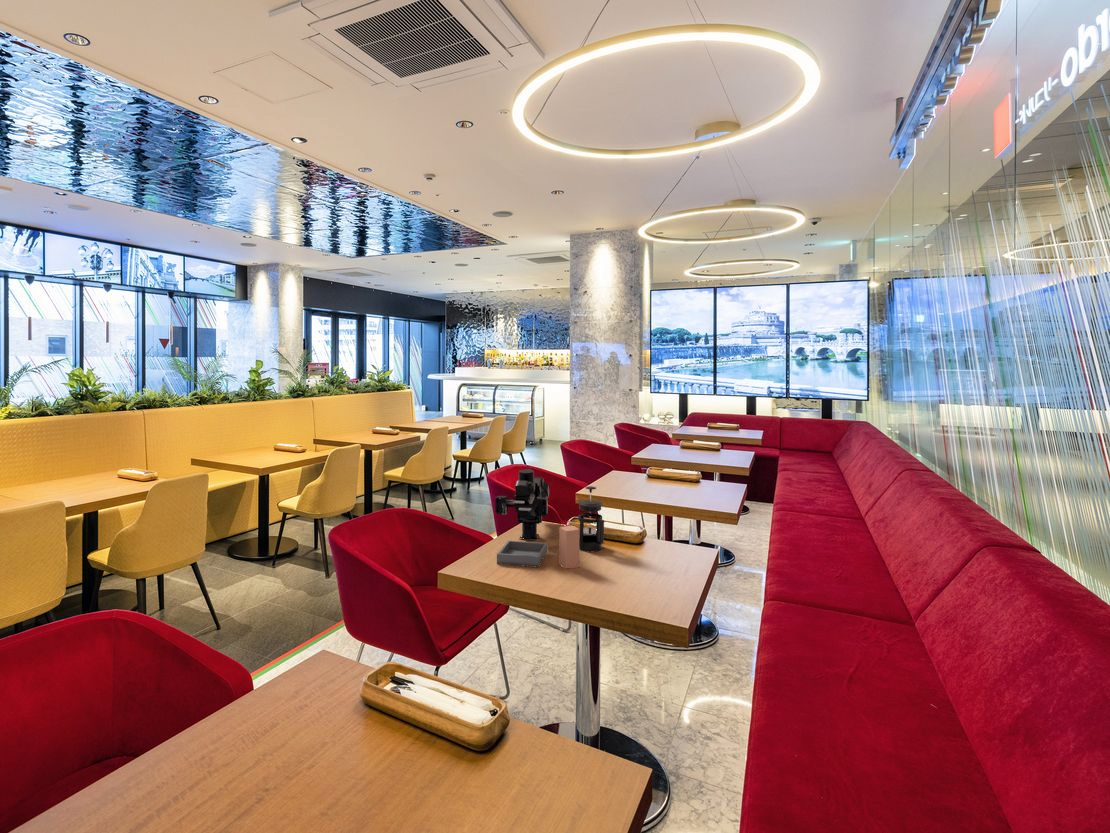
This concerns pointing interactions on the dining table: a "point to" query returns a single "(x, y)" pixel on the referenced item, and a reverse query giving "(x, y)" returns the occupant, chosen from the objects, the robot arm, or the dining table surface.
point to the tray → (522, 553)
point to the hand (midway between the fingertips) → (516, 513)
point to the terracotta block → (569, 546)
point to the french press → (588, 534)
